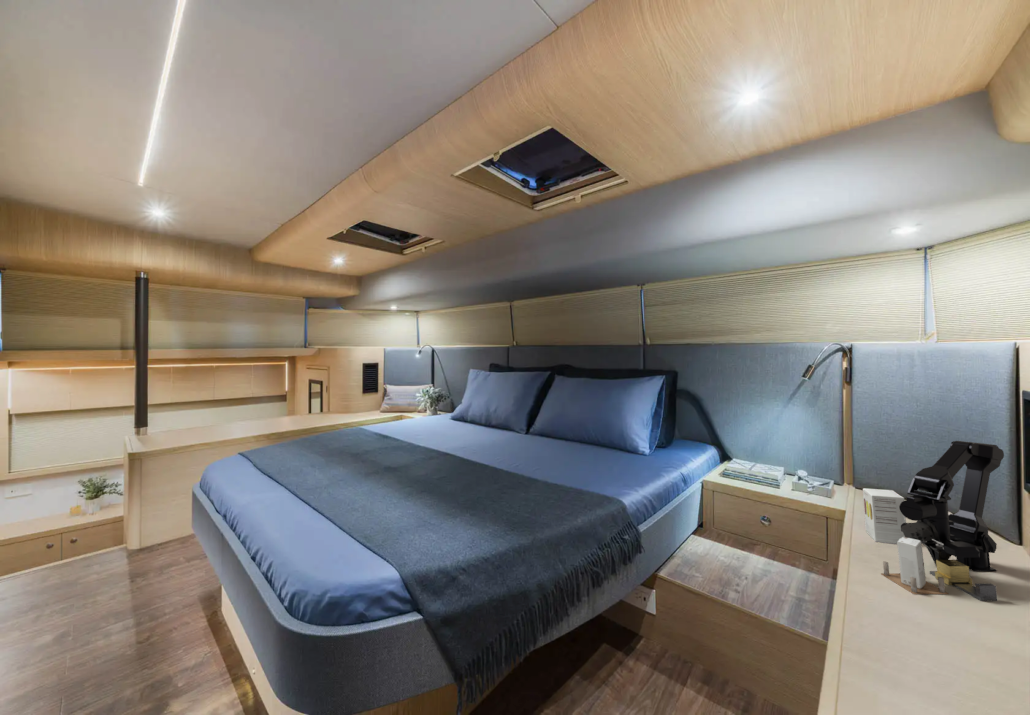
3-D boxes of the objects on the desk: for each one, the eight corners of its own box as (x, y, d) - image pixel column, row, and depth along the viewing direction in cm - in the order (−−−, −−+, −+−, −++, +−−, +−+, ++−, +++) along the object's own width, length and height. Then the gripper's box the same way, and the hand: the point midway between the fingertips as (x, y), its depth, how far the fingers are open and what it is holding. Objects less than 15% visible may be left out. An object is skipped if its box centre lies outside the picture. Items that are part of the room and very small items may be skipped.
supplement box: (865, 531, 151) (861, 487, 152) (896, 535, 147) (892, 489, 148) (875, 542, 143) (871, 495, 143) (909, 545, 139) (904, 497, 139)
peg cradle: (912, 574, 121) (911, 560, 121) (948, 594, 110) (947, 579, 110) (881, 574, 121) (880, 560, 122) (913, 594, 111) (912, 579, 111)
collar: (958, 578, 117) (956, 559, 117) (972, 585, 113) (970, 566, 113) (935, 578, 117) (933, 559, 118) (949, 585, 114) (947, 566, 114)
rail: (944, 573, 120) (942, 560, 120) (997, 601, 106) (995, 585, 106) (929, 573, 120) (928, 560, 121) (981, 601, 106) (979, 585, 106)
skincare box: (921, 589, 112) (917, 546, 113) (899, 583, 116) (896, 541, 116) (926, 582, 116) (923, 540, 116) (905, 576, 119) (902, 535, 120)
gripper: (881, 505, 130) (885, 553, 129) (935, 527, 111) (940, 584, 111) (918, 504, 129) (922, 553, 128) (979, 527, 110) (984, 584, 110)
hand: (939, 567), depth 119 cm, fingers closed
